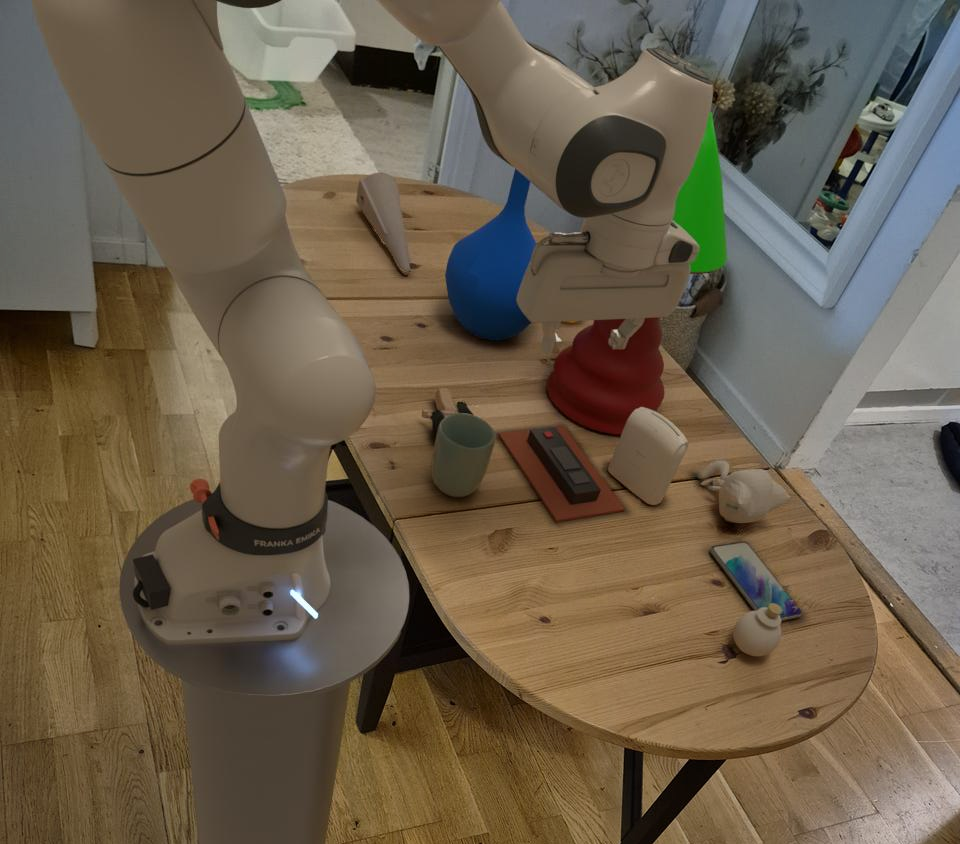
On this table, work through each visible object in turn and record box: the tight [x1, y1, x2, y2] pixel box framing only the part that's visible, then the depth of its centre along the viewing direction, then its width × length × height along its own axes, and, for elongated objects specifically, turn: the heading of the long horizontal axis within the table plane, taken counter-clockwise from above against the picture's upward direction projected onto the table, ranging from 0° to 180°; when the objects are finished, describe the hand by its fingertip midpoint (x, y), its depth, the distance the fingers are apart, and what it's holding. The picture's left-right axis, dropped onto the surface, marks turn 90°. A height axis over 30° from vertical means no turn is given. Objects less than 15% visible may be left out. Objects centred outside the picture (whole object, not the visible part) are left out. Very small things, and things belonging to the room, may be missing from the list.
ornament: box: [732, 596, 804, 657], centre depth 107 cm, size 6×7×10 cm
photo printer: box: [607, 407, 689, 506], centre depth 124 cm, size 10×4×12 cm, turn 41°
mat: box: [498, 425, 626, 523], centre depth 126 cm, size 12×20×1 cm, turn 24°
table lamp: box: [546, 111, 728, 436], centre depth 125 cm, size 20×20×45 cm
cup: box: [430, 412, 496, 498], centre depth 115 cm, size 8×8×10 cm
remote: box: [527, 426, 601, 505], centre depth 125 cm, size 15×5×2 cm, turn 24°
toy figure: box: [421, 387, 474, 438], centre depth 125 cm, size 7×6×15 cm
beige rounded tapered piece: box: [695, 459, 791, 524], centre depth 128 cm, size 10×8×15 cm
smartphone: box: [709, 540, 803, 622], centre depth 119 cm, size 7×1×15 cm
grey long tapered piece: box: [355, 171, 411, 276], centre depth 161 cm, size 8×9×26 cm
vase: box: [444, 168, 537, 341], centre depth 138 cm, size 18×18×30 cm
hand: (583, 348), depth 98 cm, fingers open, 8 cm apart
